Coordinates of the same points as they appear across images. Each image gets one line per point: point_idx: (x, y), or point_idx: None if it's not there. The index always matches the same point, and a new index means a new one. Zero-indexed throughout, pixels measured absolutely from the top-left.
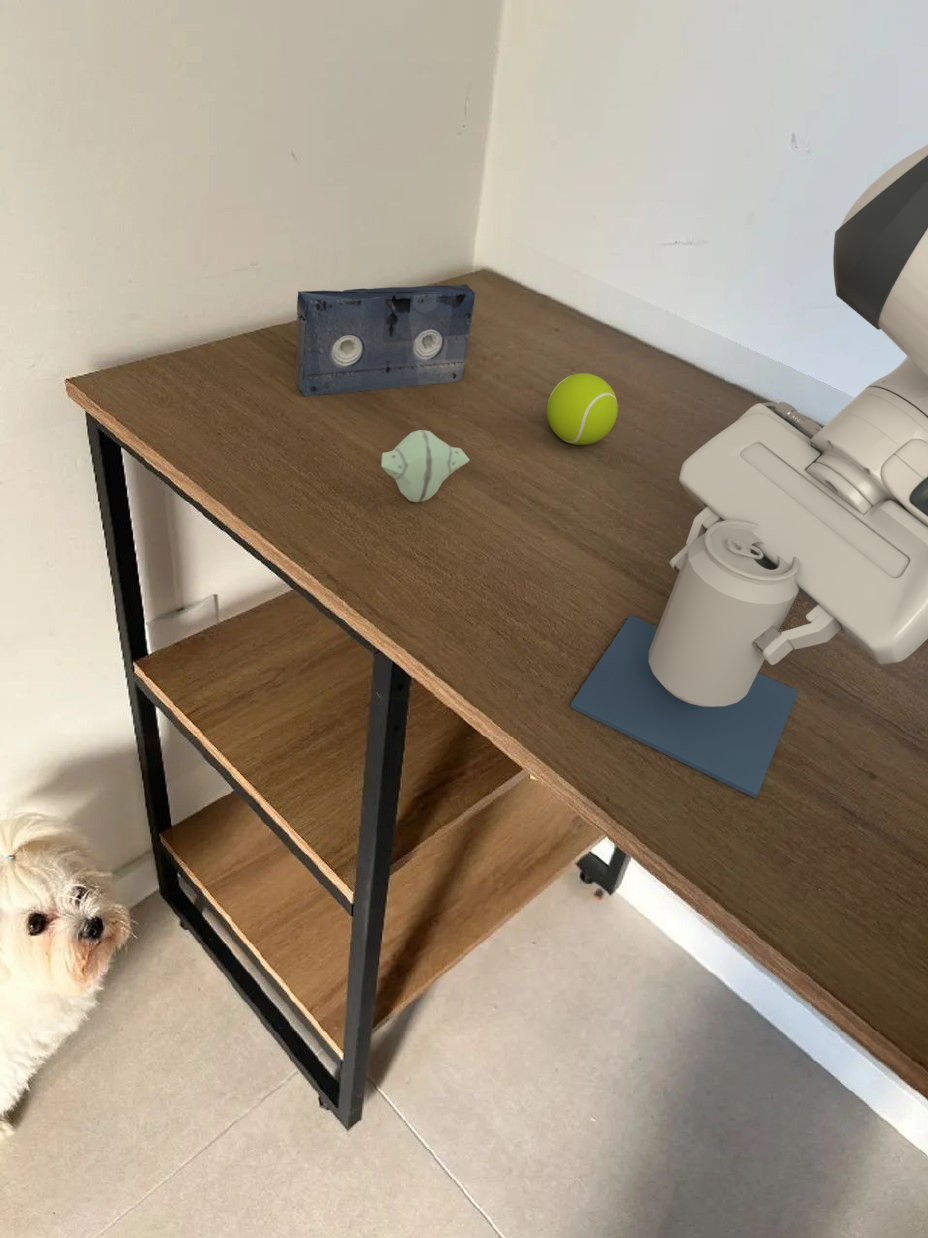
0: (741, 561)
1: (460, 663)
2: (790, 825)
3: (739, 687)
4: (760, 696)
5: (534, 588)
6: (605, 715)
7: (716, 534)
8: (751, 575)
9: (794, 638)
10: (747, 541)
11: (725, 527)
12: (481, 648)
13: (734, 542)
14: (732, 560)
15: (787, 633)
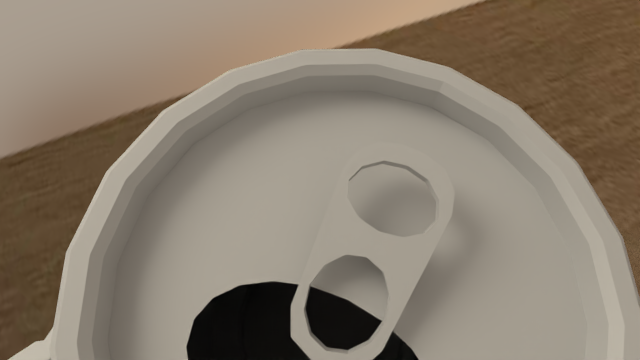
0: (301, 199)
1: (473, 38)
2: (26, 343)
3: (201, 330)
4: None
5: (636, 210)
6: None
7: (533, 208)
8: (153, 128)
9: (14, 355)
10: (454, 355)
11: (585, 284)
12: (499, 73)
13: (431, 225)
14: (323, 162)
15: (49, 346)
